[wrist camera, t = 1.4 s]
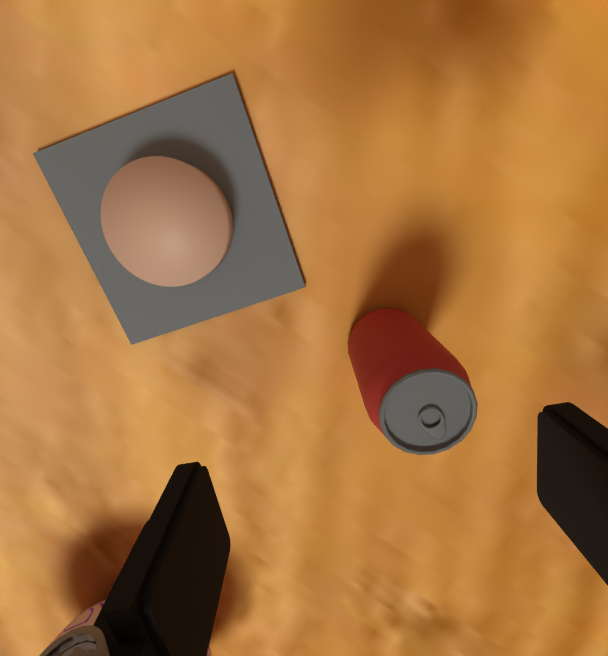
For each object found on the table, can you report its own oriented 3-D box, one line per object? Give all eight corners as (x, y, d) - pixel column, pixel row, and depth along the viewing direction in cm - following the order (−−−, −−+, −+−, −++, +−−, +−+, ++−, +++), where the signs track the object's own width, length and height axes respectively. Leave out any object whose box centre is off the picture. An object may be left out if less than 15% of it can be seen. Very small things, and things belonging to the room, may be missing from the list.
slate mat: (233, 75, 26) (232, 73, 25) (305, 285, 30) (305, 286, 30) (37, 154, 27) (32, 153, 27) (134, 342, 32) (131, 344, 31)
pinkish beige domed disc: (206, 143, 26) (196, 136, 24) (250, 260, 29) (245, 264, 27) (97, 185, 27) (77, 182, 25) (150, 294, 30) (136, 302, 27)
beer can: (369, 388, 33) (402, 480, 22) (333, 330, 31) (349, 397, 20) (434, 353, 32) (505, 431, 21) (400, 291, 30) (458, 339, 19)
